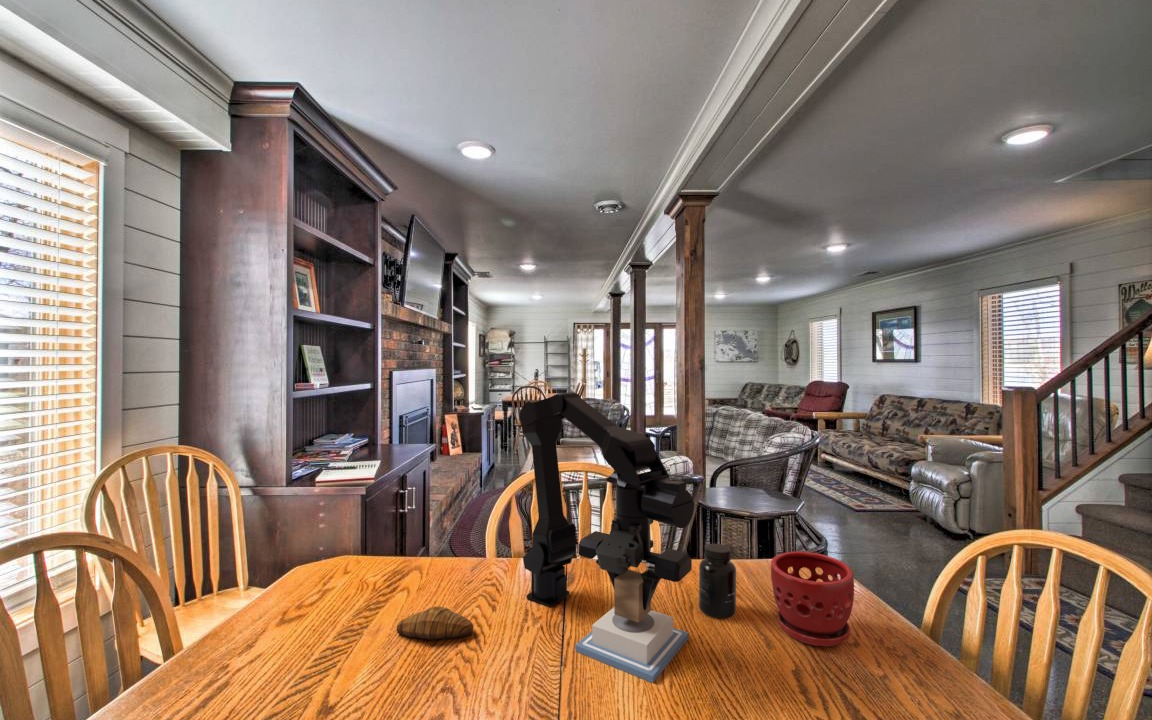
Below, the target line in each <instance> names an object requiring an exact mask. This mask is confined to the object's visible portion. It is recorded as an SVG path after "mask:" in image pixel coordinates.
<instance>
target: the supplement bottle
mask: <svg viewBox="0 0 1152 720" xmlns="http://www.w3.org/2000/svg"><path fill="white" fill-rule="evenodd" d="M703 557H704V558H703V559H702V560H701V561H700V563H699V567H698V570H699V571H698V573H699V575H698V608H699V610H700V611H701V612H702V613H703V614H704V615H705V616H707V617H710V618H714V619H719V620H725V619H730V618H732V617H733V616H734V615H735V614H736V612H737V568H736V565H735V564H734V563H733V562H732V561H731V560H732V549H731V548H730V547H729V546H727V545H725V544H722V543H721V544H719V543H710V544H706V545H705V546H704V554H703Z"/></svg>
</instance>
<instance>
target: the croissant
mask: <svg viewBox="0 0 1152 720" xmlns="http://www.w3.org/2000/svg"><path fill="white" fill-rule="evenodd" d="M473 631H474V624H473V622H472V621H471V620H469V619H468V618H467V617H466V616H463V615H462V614H459V613H457V612H454V611H452V610H451V609H449V608H448V607H445V606H444V607H443V606H439V605H437V606H432V607H428V608H426V609H425V610H424V611H418V612H417V613H414V614H411V615H408V616H407V617H405V618H404V619H402V620H400V621H399V622H398V623H397V626H396V633H397V634H399V635H402V636H403V637H408V638H413V639H414V638H417V639H422V640H427V641H428V640H429V641H437V640H445V639H451V640H452V639H457V638H463V637H467V636H471V634H473Z"/></svg>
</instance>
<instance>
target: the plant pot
mask: <svg viewBox="0 0 1152 720" xmlns="http://www.w3.org/2000/svg"><path fill="white" fill-rule="evenodd" d="M789 568H792V572H790V573H789ZM803 568H805V569H807V570H809V571H810V576H809V577H807V578H803V577H802V576H801V575H800V571H801V569H803ZM817 568H818V569H821V570H822V573H821V574H819V573H818V572H817V570H816V569H817ZM838 575H839V577H840V579H839V577H838ZM829 576H830V577H831V579H830V578H829ZM770 578H771V585H772V590H773V591H772V592H773V593H772V594H773V597H774V601H775V604H776V606H777V609H778V611H777V614H776V619H777V622H778V624H779V626H780V627H781V629H782V630H783V631H784V632H786V634H788V635H789V636H790V637H792V638H794V640H797V641H799V642H802V643H804V644H808V645H812V646H816V647H828V648H829V647H830V648H831V647H834V646H837V645H841V644H843V643H844V642H845V641H847V639H849V638H850V634H851V627H850V625H849V623H848V621H849V619H850V617H851V614H852V610H853V606H854V599H855V598H854V597H855V580H854V579H855V578H854V572H853V570H852V569H851V568H850V566H849V565H847V564H846V563H845V562H843V561H841V560H839V559H837V558H834V557H832V556H829V555H827V554H826V555H825V554H821V553H817V552H809V551H788V552H782V553H780V554H777V555H775V556H774V557H772V559H771V560H770ZM818 580H822V581H818Z"/></svg>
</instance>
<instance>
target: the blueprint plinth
mask: <svg viewBox="0 0 1152 720" xmlns="http://www.w3.org/2000/svg"><path fill="white" fill-rule="evenodd" d="M689 635H690V634H689V632H687V631H684V630H682V629H678V628H676V627H674V616H671V615H668V614H664V613H662V612H659V611H655V610H652V609H651V611H650V612H649V613H648V614H647V615H646V616H645V617H644V618H643V619H642V620H641V621H640V622H639V623H638V622H635V621H632V620H629V619H627V618H624V617H621V616H618V615H615V614H614V606H613V607H612V608H611V609H609V611H608V612H606V613H604V615H603V616H601V617H600V618H599V619H597V620H596V621H595V622H594V623H593V624H592V625H591V631H590V632H588V634H586V635H585V636H584V637H582V639H581V640H579V642H577V643H576V644H575V645H574V649H575V652H577V653H579V654H581V655H583V656H587V657H589V658H591V659H594V660H595V661H598V662H601V663H603V664H605V665H608V666H611V667H612V668H615V669H618V670H620V671H623V672H625V673H628V674H630V675H632V676H634V675H635V677H637V678H639V677H640V678H639V679H642V680H644V681H647V682H650V683H652V684H653V683H654V682H655V681H656V680H657V679H658V677H659V676H660V675H661V674H662V672H663V671H664V670H665V668H667V666H668V665H669V664H670V662H671V661H673V659H674V658H675V656H676V655H677V654H678V652H679V651H680V650H681V649H682V647H683V646H684V645H685V643H686V642H687V641H688V640H689Z"/></svg>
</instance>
